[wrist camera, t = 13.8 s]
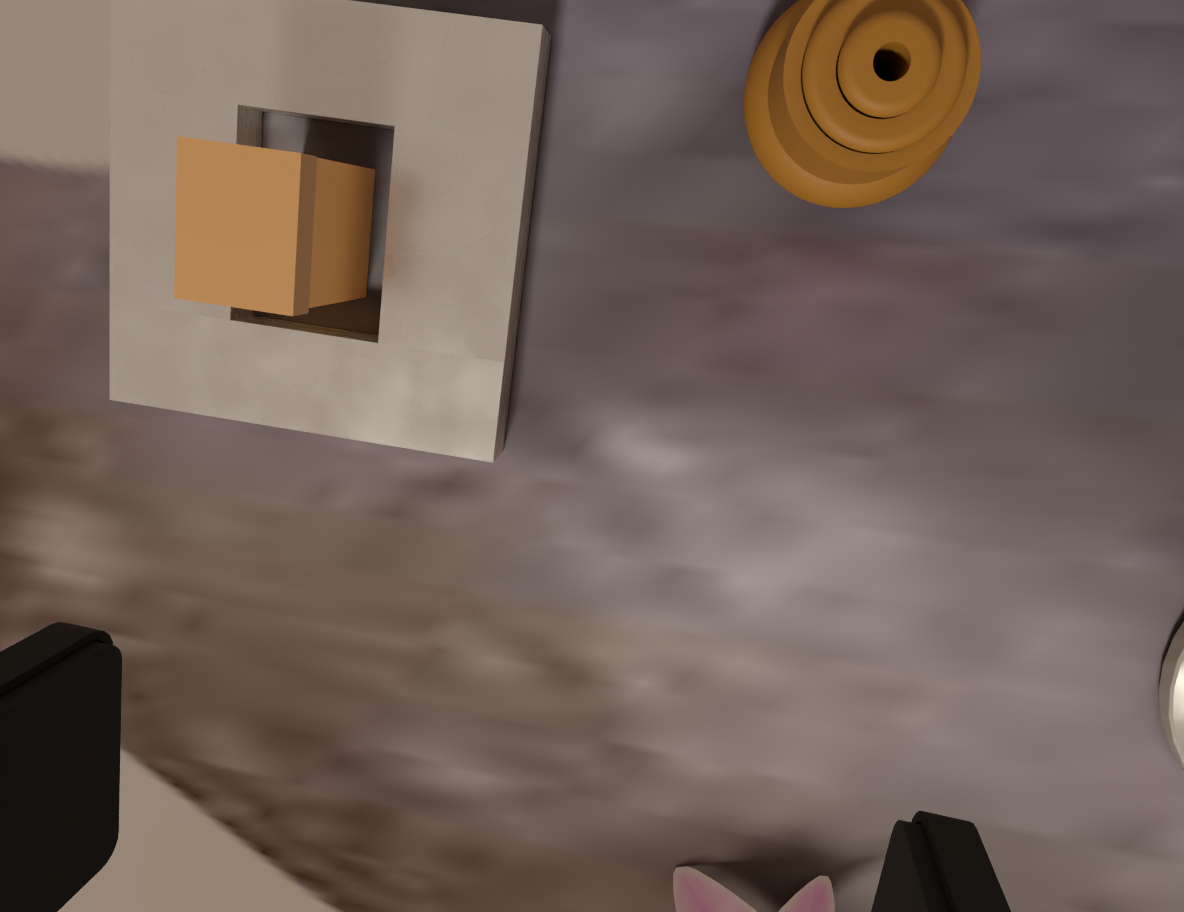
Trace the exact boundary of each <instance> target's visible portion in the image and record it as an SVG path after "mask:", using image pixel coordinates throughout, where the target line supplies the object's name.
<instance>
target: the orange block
mask: <svg viewBox="0 0 1184 912" xmlns="http://www.w3.org/2000/svg"><path fill="white" fill-rule="evenodd" d="M374 182H375V169H370V168H365V167H360V166H355V165H350V164H346V163H341V162H336V161H331V160H326V159H322V158H317V156H312V155H307V154H303V153H296V152H289V151H282V150H274V149H267V148H260V147H253V146H246V145H238V144H231V143H224V142H217V141H210V140H202V139H195V138H188V137H181V136H177V162H176V218H175V273H174V298H176V299H183V300H189V301H196V302H202V303H209V304H215V305H222V306H229V307H235V308H242V309H248V310H255V311H261V312H268V313H274V314H281V315H287V316H297V315H302V314H307V313H309V308H313V307H318V306H323V305H329V304H334V303H339V302H345V301H350V300H355V299H361V298H366V294H367V280H368V266H369V252H370V238H371V224H372V210H373V196H374Z"/></svg>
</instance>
